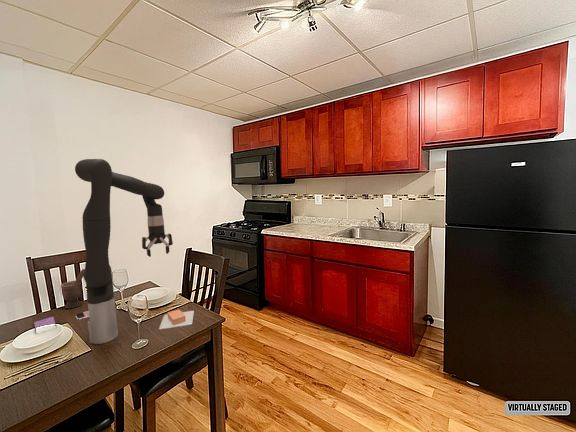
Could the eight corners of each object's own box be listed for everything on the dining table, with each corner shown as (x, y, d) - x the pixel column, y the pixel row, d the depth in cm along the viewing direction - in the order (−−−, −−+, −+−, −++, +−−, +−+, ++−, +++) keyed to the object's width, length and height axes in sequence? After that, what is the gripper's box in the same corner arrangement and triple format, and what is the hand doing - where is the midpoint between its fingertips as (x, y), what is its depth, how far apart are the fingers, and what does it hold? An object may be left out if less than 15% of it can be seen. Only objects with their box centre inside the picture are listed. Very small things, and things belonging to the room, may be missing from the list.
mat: (158, 329, 120) (158, 329, 120) (164, 315, 133) (164, 314, 133) (191, 324, 124) (191, 324, 124) (194, 311, 137) (194, 310, 137)
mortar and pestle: (88, 299, 155) (84, 266, 152) (92, 303, 149) (87, 269, 147) (62, 306, 146) (58, 271, 144) (65, 311, 141) (60, 274, 138)
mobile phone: (74, 314, 136) (109, 304, 147) (75, 315, 136) (109, 305, 147) (77, 318, 131) (113, 308, 142) (77, 320, 131) (113, 309, 142)
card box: (167, 312, 130) (173, 319, 123) (179, 309, 133) (185, 315, 126) (167, 318, 130) (173, 325, 123) (179, 314, 133) (185, 321, 126)
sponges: (53, 319, 133) (53, 316, 133) (56, 328, 124) (56, 325, 124) (34, 325, 128) (33, 321, 128) (36, 335, 119) (35, 331, 119)
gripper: (142, 226, 131) (145, 259, 133) (172, 223, 140) (175, 253, 142) (139, 225, 137) (142, 256, 139) (168, 222, 146) (170, 251, 148)
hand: (158, 254), depth 141 cm, fingers open, 8 cm apart
